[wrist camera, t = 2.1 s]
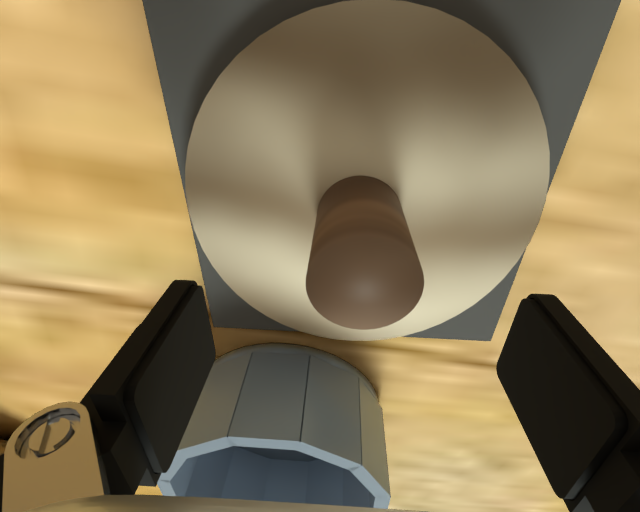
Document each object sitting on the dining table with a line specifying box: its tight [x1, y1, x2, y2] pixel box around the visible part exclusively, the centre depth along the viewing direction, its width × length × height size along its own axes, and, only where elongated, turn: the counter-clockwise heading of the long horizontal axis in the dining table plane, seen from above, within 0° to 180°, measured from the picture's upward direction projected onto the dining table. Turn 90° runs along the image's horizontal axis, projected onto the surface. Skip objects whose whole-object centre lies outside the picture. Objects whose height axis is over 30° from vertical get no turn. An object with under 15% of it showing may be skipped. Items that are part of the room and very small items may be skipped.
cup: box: [157, 343, 391, 509], centre depth 22 cm, size 13×13×6 cm
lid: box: [185, 0, 550, 341], centre depth 13 cm, size 15×15×6 cm
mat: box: [142, 0, 621, 341], centre depth 16 cm, size 16×16×1 cm
